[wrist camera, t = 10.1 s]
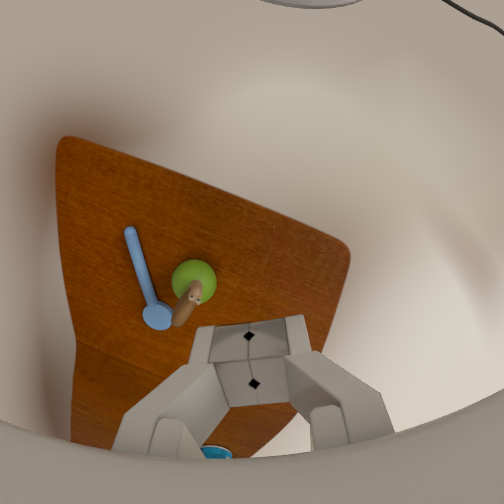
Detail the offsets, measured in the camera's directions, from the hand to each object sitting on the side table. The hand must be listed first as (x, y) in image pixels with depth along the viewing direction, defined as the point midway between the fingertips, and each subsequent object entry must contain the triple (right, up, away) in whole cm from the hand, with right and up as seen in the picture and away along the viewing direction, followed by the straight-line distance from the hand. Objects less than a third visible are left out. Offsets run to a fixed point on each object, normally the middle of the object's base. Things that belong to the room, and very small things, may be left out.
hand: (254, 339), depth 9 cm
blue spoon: (-14, -1, +30) cm, 33 cm away
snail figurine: (-7, 0, +30) cm, 31 cm away
